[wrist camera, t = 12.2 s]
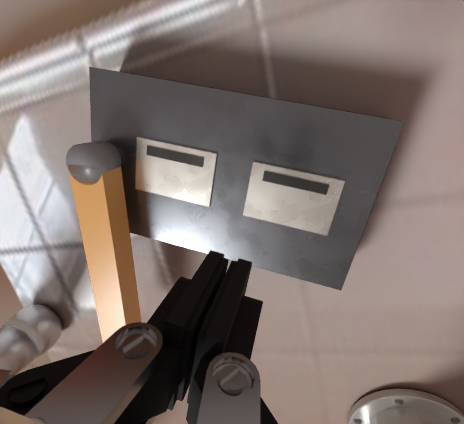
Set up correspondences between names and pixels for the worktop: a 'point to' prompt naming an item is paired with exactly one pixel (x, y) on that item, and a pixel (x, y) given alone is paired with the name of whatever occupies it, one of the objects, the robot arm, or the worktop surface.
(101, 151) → the light orange bar
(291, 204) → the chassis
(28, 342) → the plastic bottle
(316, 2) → the worktop surface
